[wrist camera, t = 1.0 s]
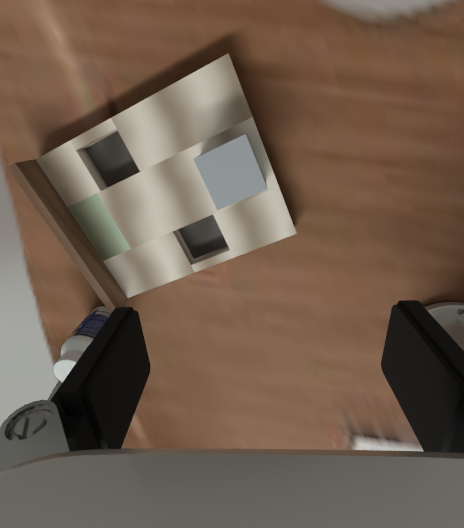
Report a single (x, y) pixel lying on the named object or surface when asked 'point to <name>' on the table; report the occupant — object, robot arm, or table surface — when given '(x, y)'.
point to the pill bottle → (80, 341)
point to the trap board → (155, 189)
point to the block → (231, 171)
